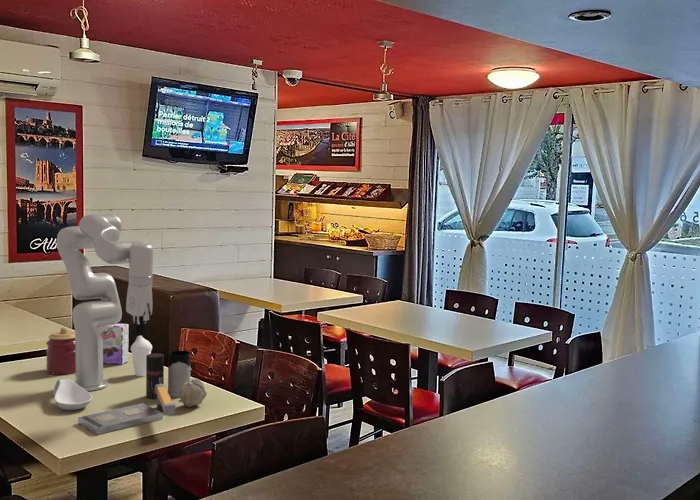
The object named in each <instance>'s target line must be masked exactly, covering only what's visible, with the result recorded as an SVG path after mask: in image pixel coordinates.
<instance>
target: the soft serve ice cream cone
mask: <svg viewBox="0 0 700 500" xmlns="http://www.w3.org/2000/svg"><path fill="white" fill-rule="evenodd" d="M152 350H153V345H152V344H151V342H150V341H149V340H147V339H145V338H144V337H143V335H142V336H136V339H135V341H134V342H133V343H132V344H131V345H130V351H131V355H132V364H133V369H134V373H135V376H136V377H141V378H142V377H146V355H148V354H152Z"/></svg>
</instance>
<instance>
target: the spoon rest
mask: <svg viewBox="0 0 700 500" xmlns="http://www.w3.org/2000/svg"><path fill="white" fill-rule="evenodd" d="M75 382H76V381H74V380H72V379H71V378H65V379H58V380H56V383H55V385H54V388H53V391H52V395H53V396H54V398H53V399H54V403H55V404H56V406H57V407H58V408H60V409H61V410H65V411H78V410H80V409H84V408H86V407H87V406H88V405H90V403H91V402H92V400H93V395H92V394H91V393H90V391H86V390H85V389H83V388H82V387H80V386H79V385H77V384H76V383H75Z"/></svg>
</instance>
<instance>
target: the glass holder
mask: <svg viewBox="0 0 700 500" xmlns="http://www.w3.org/2000/svg"><path fill="white" fill-rule="evenodd" d="M167 373H168V374H167V377H168V378H167V391H168V394H169V396H170V398H180V396H179V392H180V389H181V387H182V385H183V384H184V383H186V382H189V381H191V352H190V351H187V350H173V351H169V353H168V368H167Z"/></svg>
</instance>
